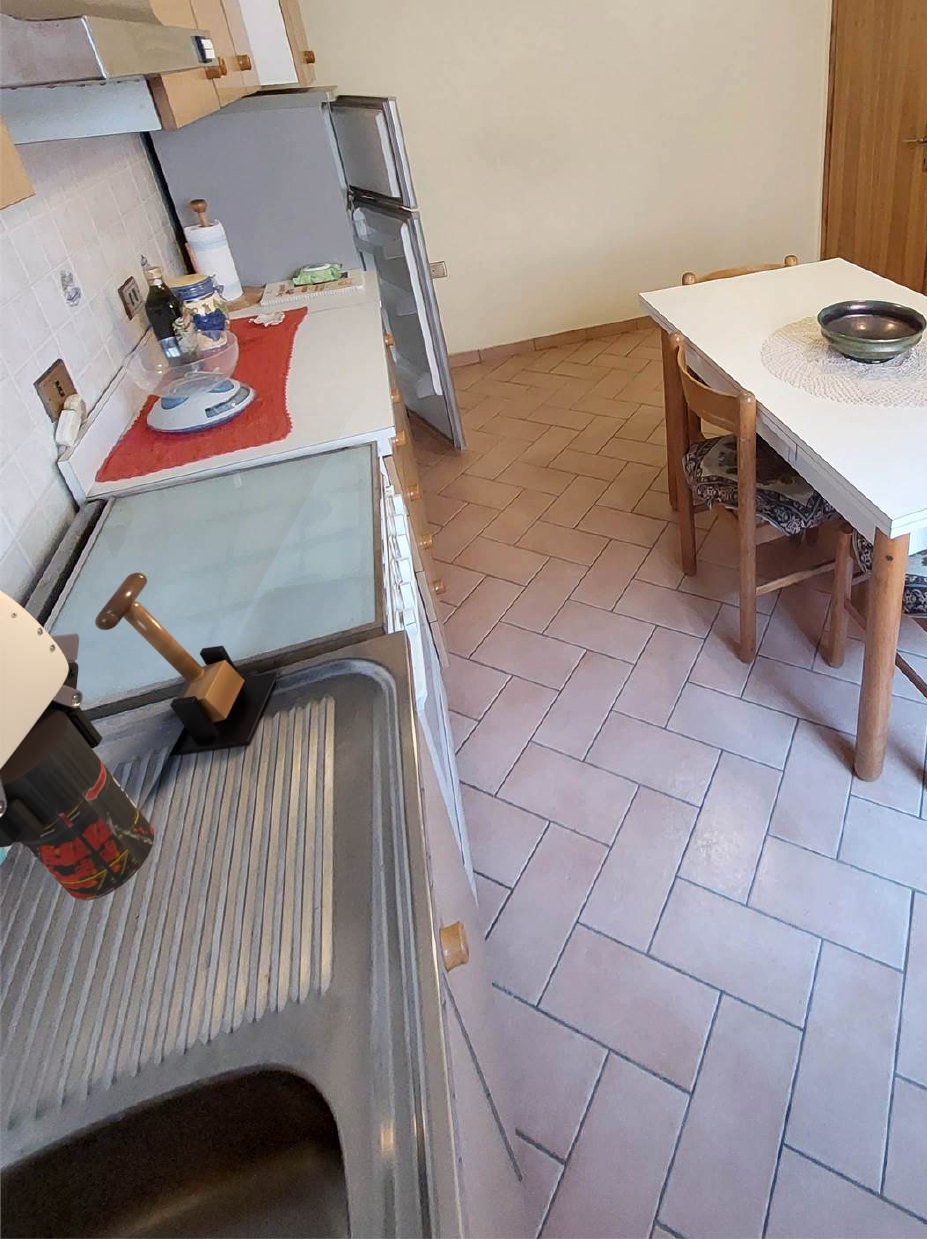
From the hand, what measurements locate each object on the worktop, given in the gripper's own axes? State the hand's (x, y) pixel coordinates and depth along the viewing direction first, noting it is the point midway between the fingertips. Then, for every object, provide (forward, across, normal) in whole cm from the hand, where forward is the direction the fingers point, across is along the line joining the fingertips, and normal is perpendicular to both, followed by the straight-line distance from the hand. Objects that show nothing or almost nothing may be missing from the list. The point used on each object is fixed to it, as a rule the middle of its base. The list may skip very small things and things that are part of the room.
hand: (51, 788), depth 52 cm
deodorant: (+10, 0, 0) cm, 10 cm away
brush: (+12, -22, -10) cm, 27 cm away
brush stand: (+23, -22, -6) cm, 32 cm away
